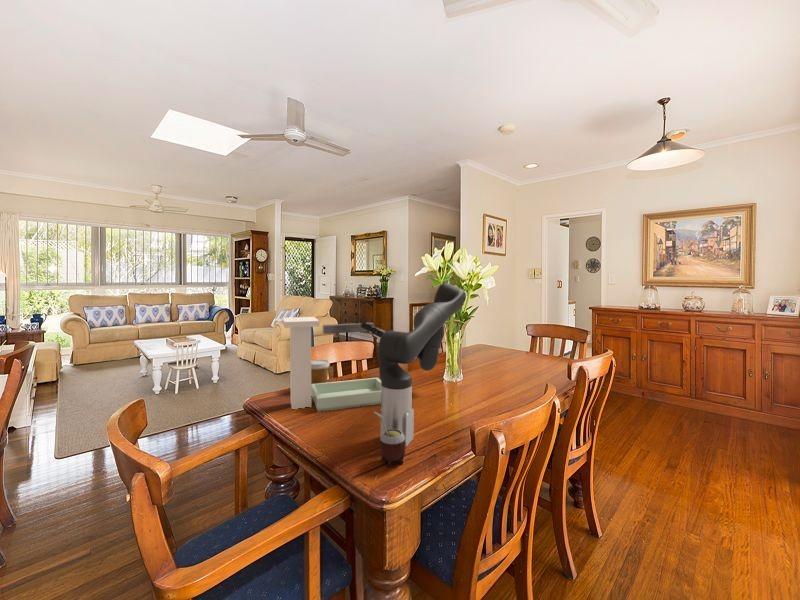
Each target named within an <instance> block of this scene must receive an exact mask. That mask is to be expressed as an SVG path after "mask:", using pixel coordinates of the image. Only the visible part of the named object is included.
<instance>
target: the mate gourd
mask: <svg viewBox="0 0 800 600" xmlns="http://www.w3.org/2000/svg"><path fill="white" fill-rule="evenodd" d="M373 413H374V414H375V415H376V416H378V417H379V419H380V422H381V421H382V423H383V426H384V429H385V431H384V432H383V433H382V435H381V434H380V437H379V450H380V455H381V459H380V461H381V462H387V463H388V464H387V465H386V468H387V467H389V468H388V469H390V468H391V467H392V466H393V464H396V463H397V465H402V464H403V463H405V462H404V457H405V455H406V448H407V447H406V441H405V436H404V434H403V433H402V432H401V431H400V430H397V429H388V430H387V429H386V426H385V423H384V419H383V417H382V416H381V413H378V412H376V411H373ZM391 465H392V466H391ZM403 465H404V464H403Z"/></svg>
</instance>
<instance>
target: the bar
mask: <svg viewBox="0 0 800 600" xmlns="http://www.w3.org/2000/svg"><path fill="white" fill-rule="evenodd" d="M365 323H366V324H368V325H370V326H371V327H372V326H373V327H375V323H374V322H365ZM361 325H362V323H360V322H358V323H357V322H356V323H354V322H353V323H337V324H335V323H334V324H323V325H322V333H323V335H328V334H329V335H330V334H342V333H344V334H345V333H362V332H363V333H364V332H369V331H370V330H369V331H368V330H366V329H364V328H362V327H361Z"/></svg>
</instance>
